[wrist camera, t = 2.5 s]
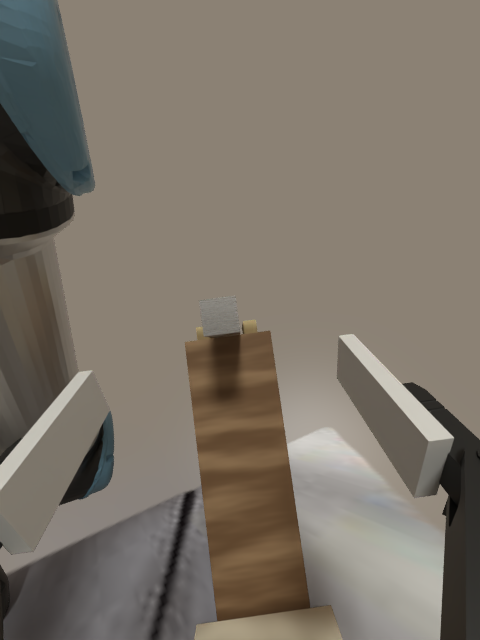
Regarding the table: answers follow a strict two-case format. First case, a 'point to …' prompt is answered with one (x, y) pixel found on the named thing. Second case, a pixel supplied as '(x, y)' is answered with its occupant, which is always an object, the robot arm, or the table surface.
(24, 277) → the robot arm
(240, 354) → the wooden rectangular column
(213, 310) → the block
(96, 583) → the table surface
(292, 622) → the board
